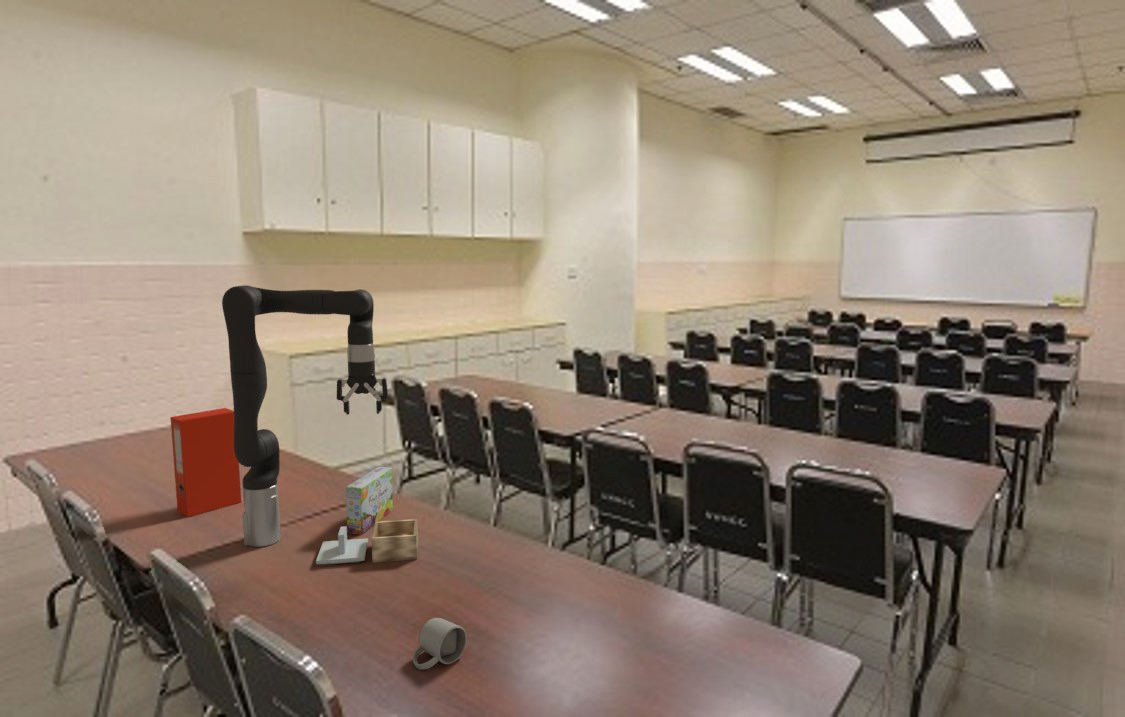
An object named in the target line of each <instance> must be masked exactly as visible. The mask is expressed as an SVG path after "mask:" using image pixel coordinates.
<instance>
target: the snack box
mask: <svg viewBox="0 0 1125 717" xmlns="http://www.w3.org/2000/svg"><path fill="white" fill-rule="evenodd" d="M345 491H346V492H345V494H346V526H347V534H353V535H359V536H361V535H363V534H364V533H365V532H367V531H368V530H370V529H371V528H372V527H373V526H375V522H379V521H382V519H383V518H384V517H386V516H387V515H388V514H390V513H391V512H392V511H393V508H394V506H393V502H394V501H393V467H386V466H385V467H384V466H377V467H376V468H374V469H373V470H371V471H369V472H368V473H366V474H364V475H363V476H362V477H360V478H359V479H356V480H355V481H354V482H352V483H350V484H349V485H347V486H346V487H345Z"/></svg>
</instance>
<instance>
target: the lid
mask: <svg viewBox="0 0 1125 717" xmlns="http://www.w3.org/2000/svg"><path fill="white" fill-rule="evenodd" d="M337 539H338V540H328V541H327V540H326V541H322V544H321V547H320V550H319V552H318V555H317V557H316V560H315V564H316V565H322V566H324V565H325V566H326V565H336V564H339V565H340V564H349V563H350V564H351V563H352V564H353V563H360V562H364V561H365V558H366V554H367V550H368V546H369V538H357V539H356V538H355V539H353V538H352V539H348V533H347V525H346V526H340V528H339V531H338V534H337Z"/></svg>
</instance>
